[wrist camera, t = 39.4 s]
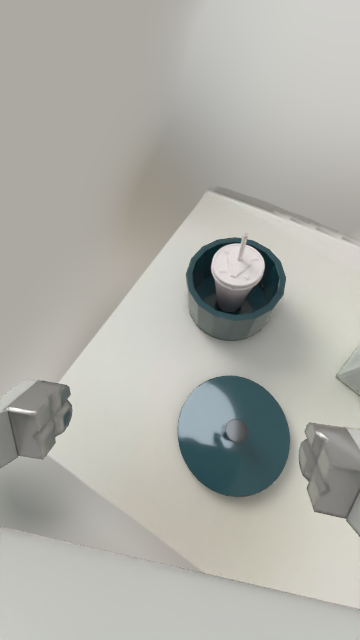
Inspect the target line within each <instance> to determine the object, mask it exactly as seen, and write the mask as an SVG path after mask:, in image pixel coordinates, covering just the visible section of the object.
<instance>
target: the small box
mask: <svg viewBox="0 0 360 640" xmlns="http://www.w3.org/2000/svg"><path fill="white" fill-rule="evenodd" d="M336 377H337V378H338V379H340V380H341V381H342V382H343V383H345V384H346V385H347V386H349V387H350V388H351V389H352V390H354V391H355V392H356V393H358V394H359V395H360V345H359V347H358V348H357V349H356V350H355V352H354V353H353V354H352V356H351V357H350V358H349V359H348V361H347V362H346V363H345V365H344V366H343V367H342V369H341V370H340V371H339V373H338V374H337V375H336Z"/></svg>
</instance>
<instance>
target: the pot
mask: <svg viewBox="0 0 360 640" xmlns="http://www.w3.org/2000/svg"><path fill="white" fill-rule="evenodd" d="M241 241H242V238H236V237H235V238H227V239H219V240H216V241H214V242H212V243H210V244H208V245H206V246H203V247H202V248H201V249H200V250H199V251H198V252H197V253H196V254H195V255H194V256H193V257H192V258H191V261H190V264H189V267H188V270H187V273H186V281H187V295H188V304H189V312H190V315H191V317H192V319H193V320H194V322H195V323H196V325H197V326H198V327H199V328H200V329H201V330H202V331H204V332H205V333H206V334H208V335H210V336H212V337H214V338H217V339H221V340H227V341H235V340H242V339H245V338H248V337H250V336H252V335H254V334H255V333H257V332H258V331H260V330H261V328H262V327H263V326H264V325H265V323H266V322H267V320H268V319H269V317H270V316H271V314H272V313H273V311H274V309H275V308H276V306H277V304H278V303H279V301H280V300H281V298H282V296H283V294H284V288H285V282H286V276H285V273H284V270H283V267H282V264H281V262H280V261H279V259H278V258H277V257H276V256H275V255H274V254H273V253H272V252H271V251H270V249H268V248H266V247H264V246H262V245H260V244H259V243H257V242H255V241H253V240H247V242H246V245H248V246H251V247H253V248H254V249H256V250H257V251H258V252H259V253H260V254H261V256H262V257H263V259H264V263H265V269H264V272H263V276H262V278H261V280H260V281H259V282H258V283H257V284H256V285H255V286H253V288H252V289H251V291H250V292H249V294H248V295H247V297H246V299H245V300H244V302H243V303H242V305H241V306H240V308H239V309H238V310H237V311H235V312H225V311H223V310H221V309H220V308H219V306H218V304H217V296H216V286H215V279H214V277H213V275H212V272H211V265H212V260H213V257H214V255H215V253H216V252H217V251H218V250H219V249H221V248H222V247H224V246H226V245H229V244H237V243H238V244H241Z"/></svg>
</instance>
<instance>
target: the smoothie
mask: <svg viewBox="0 0 360 640" xmlns="http://www.w3.org/2000/svg"><path fill="white" fill-rule="evenodd" d="M247 238H248V233H246V232H245V233H243V236H242V241H241V244H238V243H237V244H229V245H226V246H224V247H222V248H221V249H219V250H218V251H217V252H216V253H215V255H214V257H213V260H212V265H211V272H212V275H213V277H214V279H215V286H216V296H217V304H218V306H219V308H220V309H221V310H223V311H225V312H235V311H237V310H238V309H239V308H240V306H241V305H242V303H243V302H244V300H245V299H246V297H247V295H248V294H249V292H250V291H251V289H252V288H253V286H255V285H256V284H257V283H258V282H259V281H260V280H261V278H262V276H263V272H264V269H265V263H264V259H263V257H262V256H261V254H260V253H259V252H258V251H257V250H256V249H254V248H253V247H251V246H248V245H246V242H247Z"/></svg>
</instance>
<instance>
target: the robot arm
mask: <svg viewBox="0 0 360 640" xmlns="http://www.w3.org/2000/svg"><path fill="white" fill-rule="evenodd" d="M70 395H71V394H70V388H69V386H67V385H64V384H59V383H53V382H47V381H40V380H35V379H24V380H22V381H21V382H20V383H19V384H17V385H16V386H15V387H14V388H12V389H11V390H10V391H8V392H7V393H6V394H5V395H4V396H2V397H1V398H0V468H2V467H3V466H5V465H7V464H8V463H10V462H11V461H13V460H14V459H16V458H17V457H18V456H24V457H30V458H37V459H44V457H45V456H46V455H47V453H48V452H49V451H50V450H51V448H52V447H53V446H54V444H55V443H56V441H55V437H56V436H58V435H59V434H61V433H63V432H64V431H65V429H66V428H67V427H68V425H69V422H70V420H71V417H72V405H71V403H70V402H69V401H68V400H67V399H68V397H69V396H70ZM305 434H306V437H307V439H306V440H304V441H303V442H301V445H300V449H299V465H300V469H301V472H302V475H303V476H304V477H305V478H306V479H307V480H308V481H309V484H308V486H307V491H308V494H309V497H310V500H311V503H312V506H313V509H314V512H318V513H323V514H327V515H332V516H336V517H341V518H345V519H346V521H347V522H348V523H349V524H350V526H351V527H352V528H353V529H354V530H355V532H356V533H357V534H358V535H359V536H360V429H355V428H347V427H337V426H331V425H324V424H317V423H310V422H309V423H308V425H307V426H306V429H305ZM0 640H360V609H357V608H353V607H349V606H344V605H340V604H336V603H331V602H327V601H322V600H318V599H314V598H309V597H305V596H301V595H296V594H292V593H288V592H283V591H279V590H275V589H270V588H266V587H262V586H257V585H253V584H248V583H244V582H240V581H235V580H231V579H227V578H222V577H218V576H214V575H209V574H205V573H201V572H196V571H191V570H188V569H183V568H179V567H174V566H170V565H166V564H162V563H157V562H153V561H149V560H144V559H140V558H136V557H131V556H127V555H123V554H118V553H113V552H110V551H105V550H101V549H96V548H92V547H88V546H84V545H79V544H75V543H70V542H66V541H62V540H57V539H53V538H48V537H44V536H40V535H36V534H31V533H27V532H23V531H18V530H13V529H9V528H5V527H1V526H0Z"/></svg>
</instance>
